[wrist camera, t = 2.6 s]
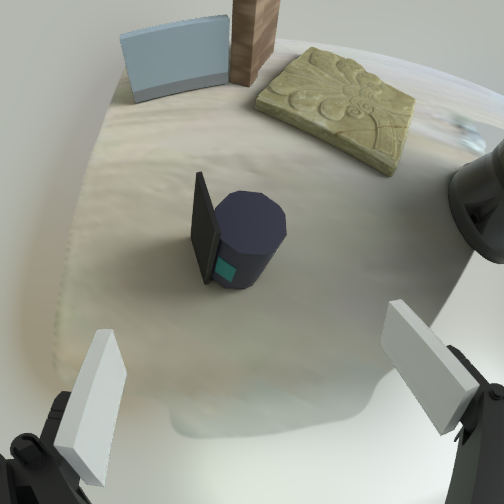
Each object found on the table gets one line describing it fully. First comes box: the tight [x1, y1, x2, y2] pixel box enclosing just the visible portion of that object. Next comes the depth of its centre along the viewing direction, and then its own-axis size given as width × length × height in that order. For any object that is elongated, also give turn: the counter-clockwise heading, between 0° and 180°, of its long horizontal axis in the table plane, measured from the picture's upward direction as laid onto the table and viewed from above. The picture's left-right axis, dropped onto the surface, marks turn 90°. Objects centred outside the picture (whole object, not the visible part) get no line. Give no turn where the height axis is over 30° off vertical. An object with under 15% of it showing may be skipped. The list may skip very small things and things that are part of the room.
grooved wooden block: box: [230, 0, 280, 87], centre depth 37 cm, size 3×12×16 cm, turn 158°
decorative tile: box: [255, 47, 416, 177], centre depth 41 cm, size 19×20×4 cm
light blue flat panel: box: [120, 15, 230, 103], centre depth 36 cm, size 13×2×11 cm, turn 108°
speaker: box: [191, 172, 287, 289], centre depth 27 cm, size 8×6×10 cm
